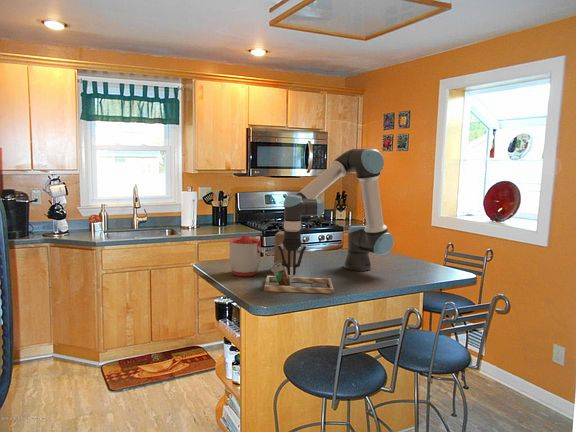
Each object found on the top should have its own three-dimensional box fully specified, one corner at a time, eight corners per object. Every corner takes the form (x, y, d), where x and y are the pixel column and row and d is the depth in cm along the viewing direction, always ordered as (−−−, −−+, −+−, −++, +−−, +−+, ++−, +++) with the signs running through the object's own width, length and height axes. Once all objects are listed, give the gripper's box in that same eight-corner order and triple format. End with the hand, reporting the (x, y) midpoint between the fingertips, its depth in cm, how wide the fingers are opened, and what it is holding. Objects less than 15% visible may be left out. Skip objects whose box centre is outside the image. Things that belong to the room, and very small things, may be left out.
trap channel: (330, 282, 212) (330, 277, 211) (333, 293, 194) (333, 288, 194) (267, 280, 212) (267, 275, 212) (264, 290, 195) (264, 285, 194)
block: (292, 274, 225) (294, 234, 223) (273, 272, 227) (274, 233, 225) (296, 269, 235) (297, 232, 233) (277, 268, 237) (278, 230, 234)
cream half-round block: (277, 283, 209) (270, 263, 208) (290, 278, 209) (283, 259, 208) (277, 291, 197) (269, 270, 196) (290, 286, 197) (282, 265, 196)
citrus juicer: (259, 279, 213) (260, 238, 211) (224, 276, 216) (225, 235, 214) (266, 271, 229) (267, 233, 226) (233, 269, 232) (234, 231, 229)
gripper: (306, 229, 204) (305, 280, 206) (278, 228, 204) (277, 279, 206) (307, 231, 196) (305, 284, 199) (277, 231, 196) (276, 283, 199)
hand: (291, 281), depth 202 cm, fingers closed
